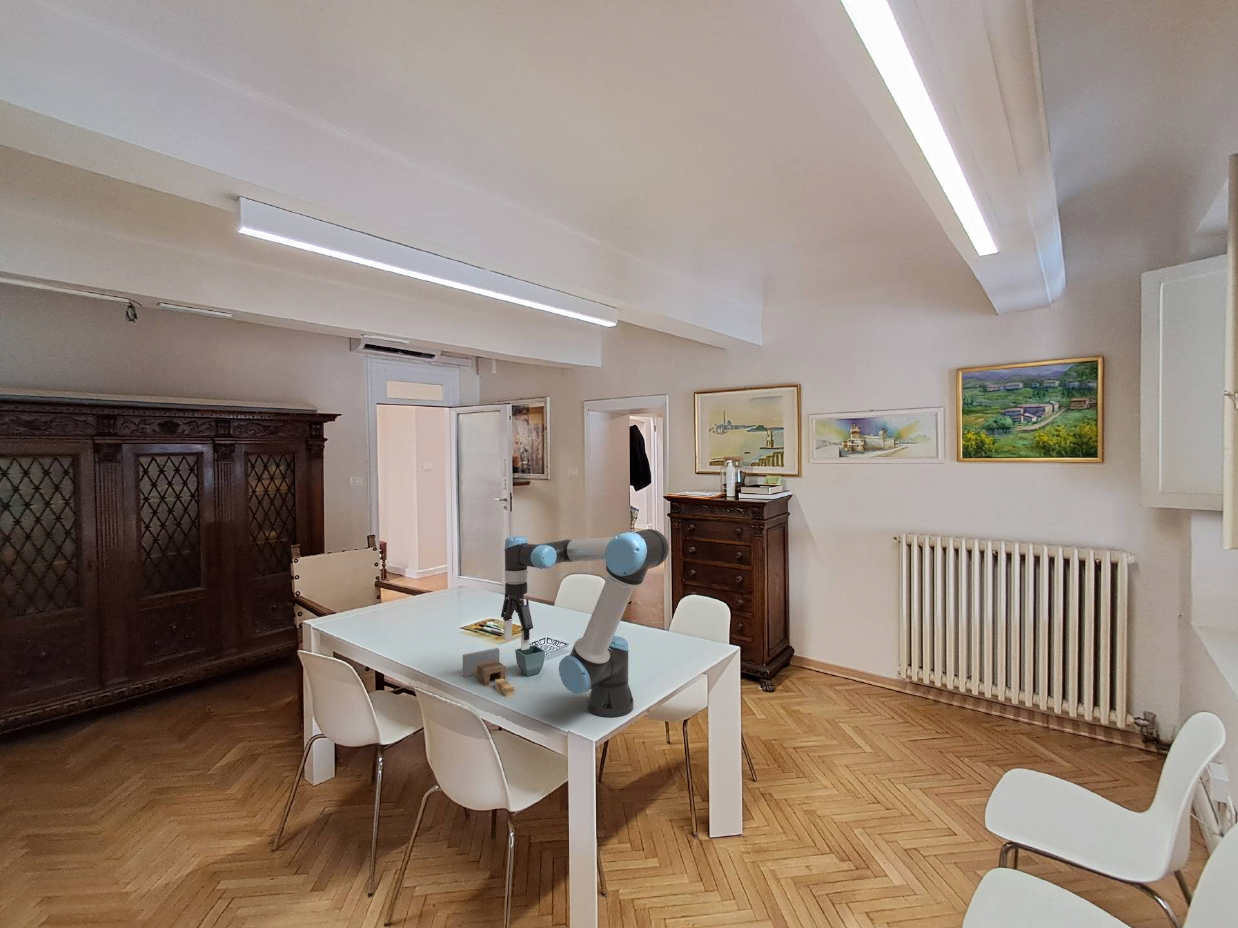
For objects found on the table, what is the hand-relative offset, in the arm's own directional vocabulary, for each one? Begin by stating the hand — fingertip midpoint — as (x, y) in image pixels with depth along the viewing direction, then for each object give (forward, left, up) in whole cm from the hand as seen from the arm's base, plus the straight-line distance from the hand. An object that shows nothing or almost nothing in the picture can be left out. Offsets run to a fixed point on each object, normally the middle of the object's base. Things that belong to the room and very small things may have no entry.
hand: (516, 644), depth 194 cm
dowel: (+9, +1, -19) cm, 21 cm away
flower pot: (+19, -14, -19) cm, 30 cm away
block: (+21, +1, -19) cm, 28 cm away
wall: (+30, +1, -19) cm, 36 cm away
